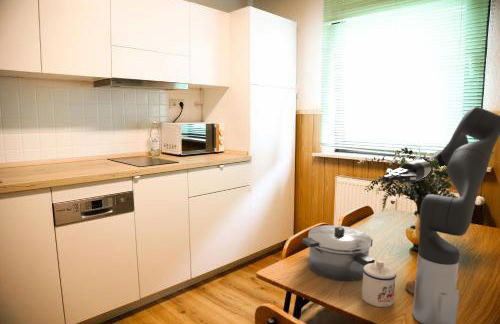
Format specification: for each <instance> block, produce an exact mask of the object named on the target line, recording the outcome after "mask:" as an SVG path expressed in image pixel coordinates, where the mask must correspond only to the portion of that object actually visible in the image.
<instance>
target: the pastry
mask: <svg viewBox="0 0 500 324" xmlns="http://www.w3.org/2000/svg"><path fill="white" fill-rule="evenodd" d="M415 281H416V280H412V281H407V282H406V284H405V289H406V290H407V291H408V292H409V293H411V294H414V291H415Z"/></svg>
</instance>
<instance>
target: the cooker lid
mask: <svg viewBox="0 0 500 324" xmlns="http://www.w3.org/2000/svg"><path fill="white" fill-rule="evenodd" d="M310 229H311V230H309V231H308V237H305V238H301V242H302V244H304V245H306V246H307V247H308V248H309V247H310V248H311V247H316V246H319V247H322V248H325V249H328V250H333V251H340V252H357V251H362V250H365V249H368V248H369V247H370V246H371V239H372V238H371V236H370V235H369V234H368V233H367V232H365V231H362V230H360V229H357V228H354V227H351V226H350V227H349V226H344V225H334V224H333V225H331V224H330V225H329V224H328V225H327V224H325V225H319V226H315V227H313V228H310ZM371 247H372V246H371ZM371 247H370V248H371Z"/></svg>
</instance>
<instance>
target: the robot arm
mask: <svg viewBox="0 0 500 324" xmlns="http://www.w3.org/2000/svg"><path fill="white" fill-rule="evenodd" d="M467 136H469V137H471V138H472V139H475V140H476V141H472V142H470V143H469V140H468V137H467ZM499 137H500V115H499V114H497V113H495V112H492V111H490V110H487V109H484V108H482V107H479V106H472V107H471V108H469V109H468V111H466V113H465V114H464V115H463V117H462V119H461V120H460V121H459V123H458V125H457V126H456V128H455V130H454V132H453V134H452V136H451V138H450V139H449V142H448V143H447V144H446V145H445V147H444V148H443V149H442V150H441V149H440V150H437V151H436V152H434V153H433V154H432V155H431V156H429V157H428V158H430V159H431V160H433V159H435V160H437V161H438V164H439V166H440V167H441V166H444V165H445V166H447V173H448V176H447V177H448V178H449V180H450V182H451V184H452V186H454V188H455V189H456V191H457V193H458V195H459V197H452V196H445V195H439V194H432V193H429V194H426V195H425V196H424V197H423V199H422V201H421V204H420V210H419V211H420V212H419V233H418V234H419V235H418V250H417V251H418V252H417V262H416V263H417V264H416V271H415V273H416V274H415V280H414V281H415V291H414V293H413V304H412V305H413V306H412V316H413V318H414V319H415V320H416V321H417V322H419V323H420V324H456V323H457V314H458V307H459V297H460V291H459V290H458V289H457V282H458V281H457V280H458V272H459V271H458V270H459V262H460V250H459V248H457V247H456V246H455V245H454V244H452V243H450V242H448V241H447V240H446V239H444V238H442V236H440V235H439V234H438V233H442V234H446V235H451V236H455V237H461V236H464V235H465V234H466V233H467V232H468V230H469V228H470V225H471V222H472V218H473V215H474V210H475V207H476V202H477V198H478V193H479V190H480V188H481V185H482V184H483V183H482V182H483V181H484V178H485V176H486V172H487V170H488V168H489V163H490V160H491V157H492V153H493V151H494V148H495V146H496V144H497V142H498V140H499ZM431 166H432V165H431V164H430V163H429V162H427V161H425V160H423V159H418V160H413V161H409V162H405V163H404V164H402V165H401V167H399V168H395V169H394V170H392V169H391V168H389V167H388V168H387V169H386V175H383V176H382V182H383V183H390V182H398V183H416V182H417V181H421V180H420V179H422V178H424V177H426V176H427V175H428V174H429V173H430V171H431ZM422 180H423V179H422Z"/></svg>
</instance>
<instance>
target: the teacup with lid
mask: <svg viewBox="0 0 500 324" xmlns="http://www.w3.org/2000/svg"><path fill="white" fill-rule="evenodd" d="M396 278H397V272H396V270H395V269H394V268H393V267H391V266H389V265H386V264H385V262H384V261H382V260H377V261H376V262H374V263H370V264H366V265H365V266H364V267H363V278H362V287H361V288H362V289H361V298H362V300H364V302H366V303H367V304H369V305H371V306H373V307H377V308H387V307H391V306H392V305H393V304H394V300H395V299H394V298H395V287H396V285H395V284H396Z"/></svg>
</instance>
